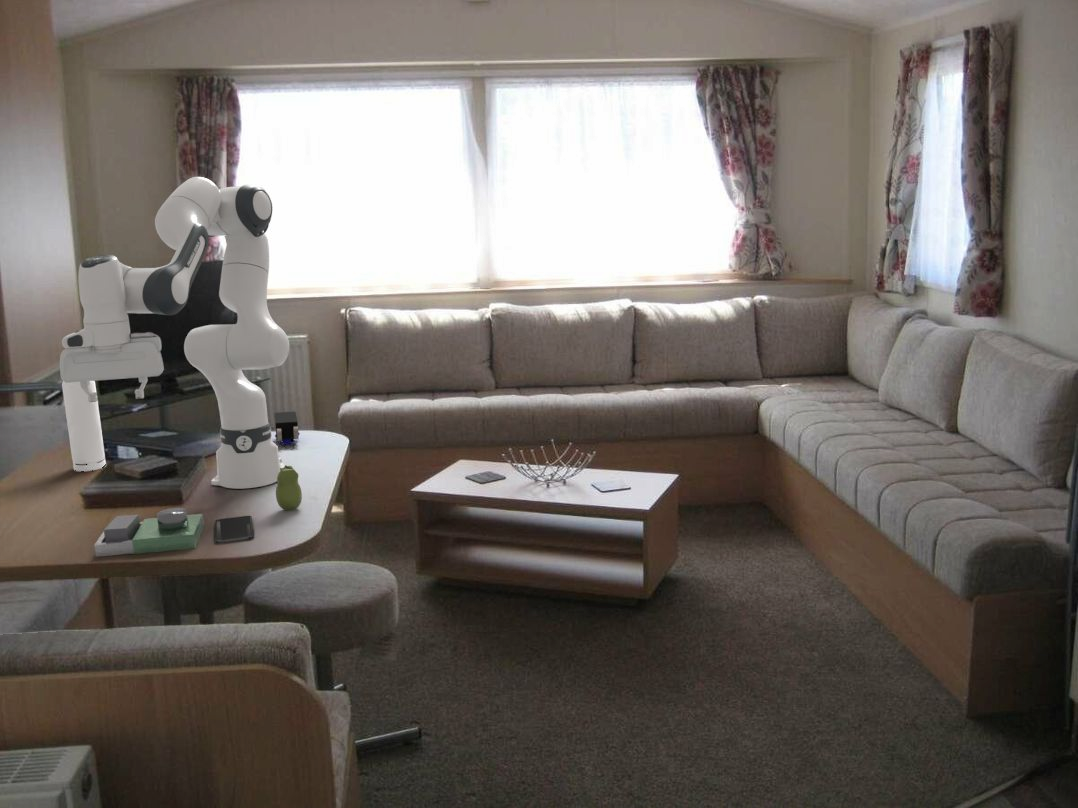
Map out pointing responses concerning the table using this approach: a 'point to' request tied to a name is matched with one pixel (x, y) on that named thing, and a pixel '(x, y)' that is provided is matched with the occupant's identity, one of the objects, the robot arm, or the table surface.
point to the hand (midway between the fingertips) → (116, 399)
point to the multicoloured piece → (158, 534)
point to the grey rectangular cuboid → (122, 528)
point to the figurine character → (286, 427)
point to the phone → (234, 529)
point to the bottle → (83, 427)
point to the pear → (288, 489)
